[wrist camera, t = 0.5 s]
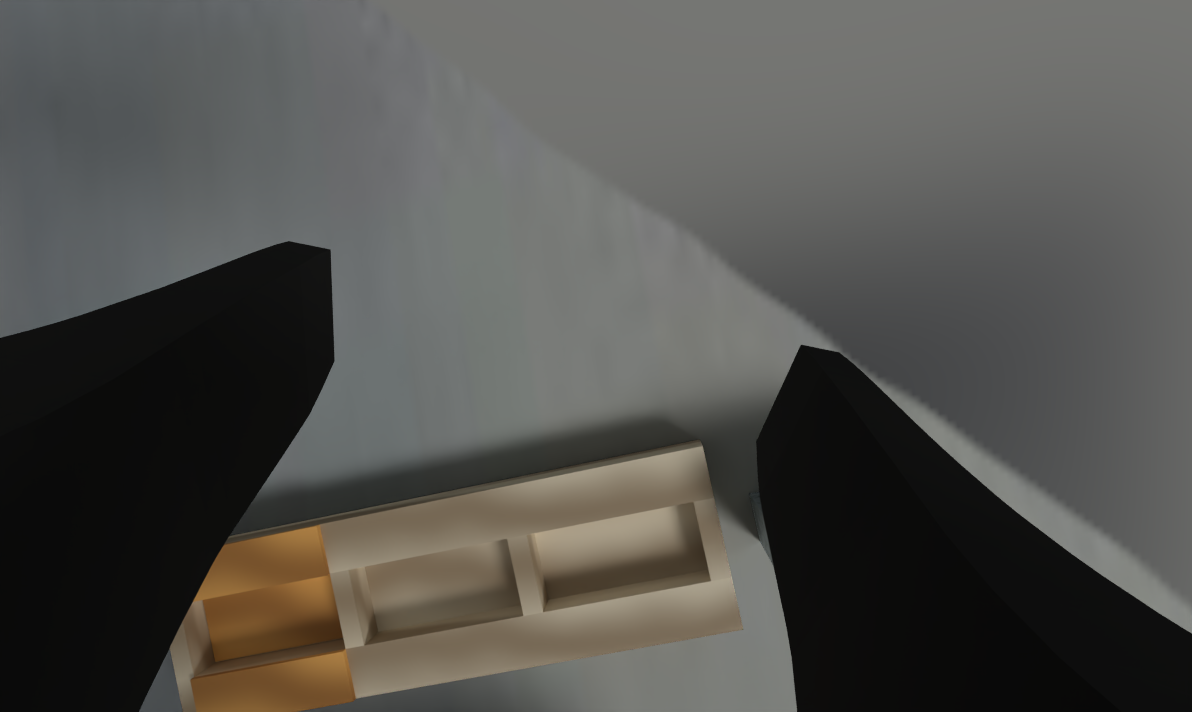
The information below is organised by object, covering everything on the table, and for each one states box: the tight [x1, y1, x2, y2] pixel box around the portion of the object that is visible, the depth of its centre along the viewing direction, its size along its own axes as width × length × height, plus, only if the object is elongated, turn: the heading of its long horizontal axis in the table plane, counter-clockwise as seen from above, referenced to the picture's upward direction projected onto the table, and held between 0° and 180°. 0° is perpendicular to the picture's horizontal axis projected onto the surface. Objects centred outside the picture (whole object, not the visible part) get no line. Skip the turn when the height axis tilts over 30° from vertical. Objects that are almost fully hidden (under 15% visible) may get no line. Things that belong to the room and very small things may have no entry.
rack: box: [170, 440, 743, 712], centre depth 34 cm, size 9×29×3 cm, turn 102°
